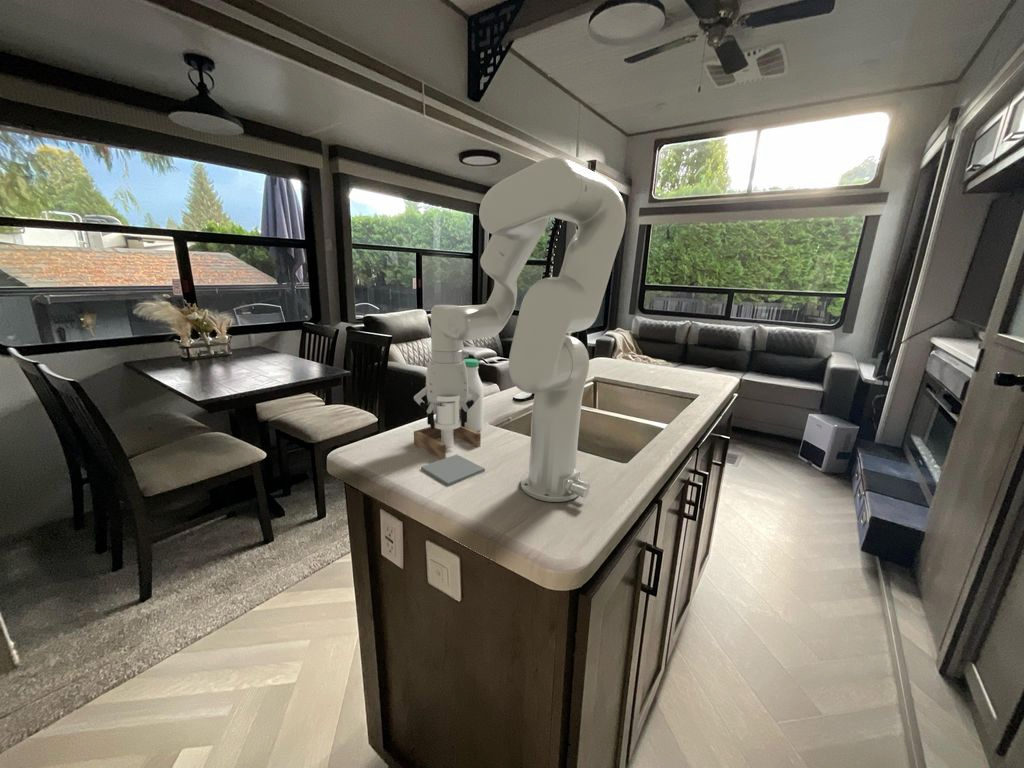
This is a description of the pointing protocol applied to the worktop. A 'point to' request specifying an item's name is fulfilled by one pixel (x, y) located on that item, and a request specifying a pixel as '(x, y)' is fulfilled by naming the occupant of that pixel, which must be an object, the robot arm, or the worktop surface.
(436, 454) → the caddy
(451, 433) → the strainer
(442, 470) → the trivet
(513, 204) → the robot arm
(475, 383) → the milk bottle
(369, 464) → the worktop surface
